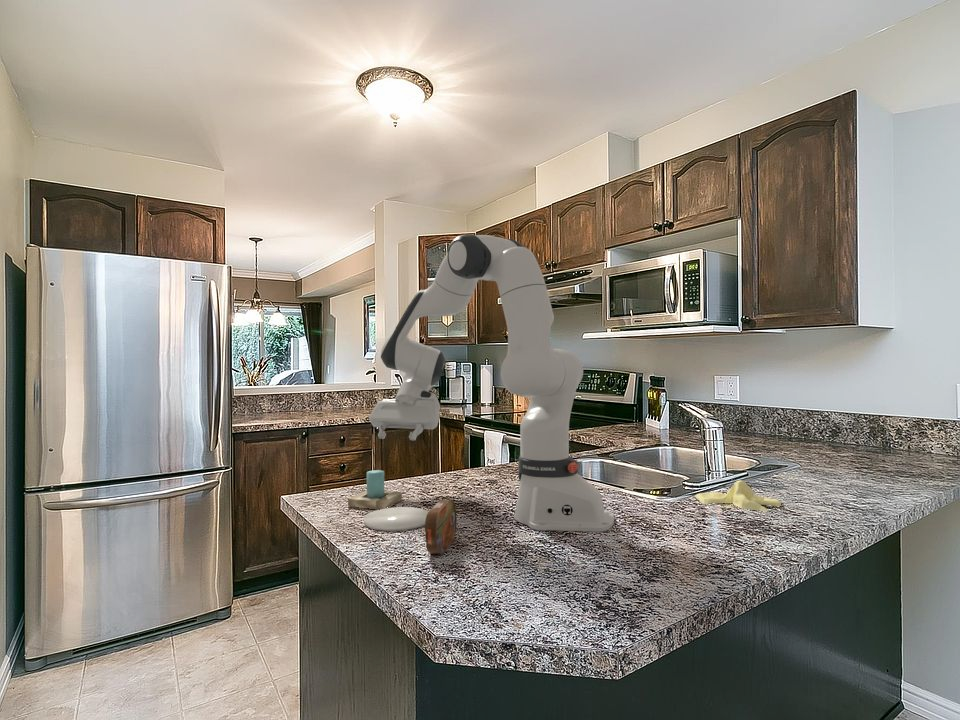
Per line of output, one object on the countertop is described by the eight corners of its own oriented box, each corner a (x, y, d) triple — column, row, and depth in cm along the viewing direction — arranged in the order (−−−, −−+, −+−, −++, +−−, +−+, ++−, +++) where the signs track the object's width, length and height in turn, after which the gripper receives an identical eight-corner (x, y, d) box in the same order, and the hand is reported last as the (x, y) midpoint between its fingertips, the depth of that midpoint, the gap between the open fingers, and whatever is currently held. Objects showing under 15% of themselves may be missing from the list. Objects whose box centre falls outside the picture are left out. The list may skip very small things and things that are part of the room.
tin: (438, 561, 101) (438, 515, 101) (422, 560, 102) (421, 514, 102) (458, 534, 116) (457, 494, 116) (443, 534, 117) (443, 494, 117)
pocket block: (402, 499, 145) (402, 492, 145) (384, 509, 135) (384, 501, 135) (368, 497, 148) (367, 489, 148) (348, 506, 138) (348, 498, 138)
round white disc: (440, 514, 131) (440, 509, 131) (413, 533, 117) (413, 528, 117) (383, 509, 136) (383, 505, 136) (351, 527, 121) (351, 522, 121)
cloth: (681, 500, 144) (681, 476, 144) (730, 491, 152) (730, 469, 152) (758, 523, 124) (758, 495, 124) (810, 511, 132) (809, 486, 132)
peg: (387, 501, 143) (387, 470, 143) (379, 506, 139) (379, 474, 139) (372, 500, 144) (371, 469, 144) (363, 504, 140) (363, 473, 140)
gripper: (375, 392, 163) (358, 429, 154) (440, 393, 157) (426, 432, 148) (382, 406, 167) (366, 443, 158) (445, 407, 161) (433, 446, 152)
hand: (396, 438), depth 153 cm, fingers open, 8 cm apart
